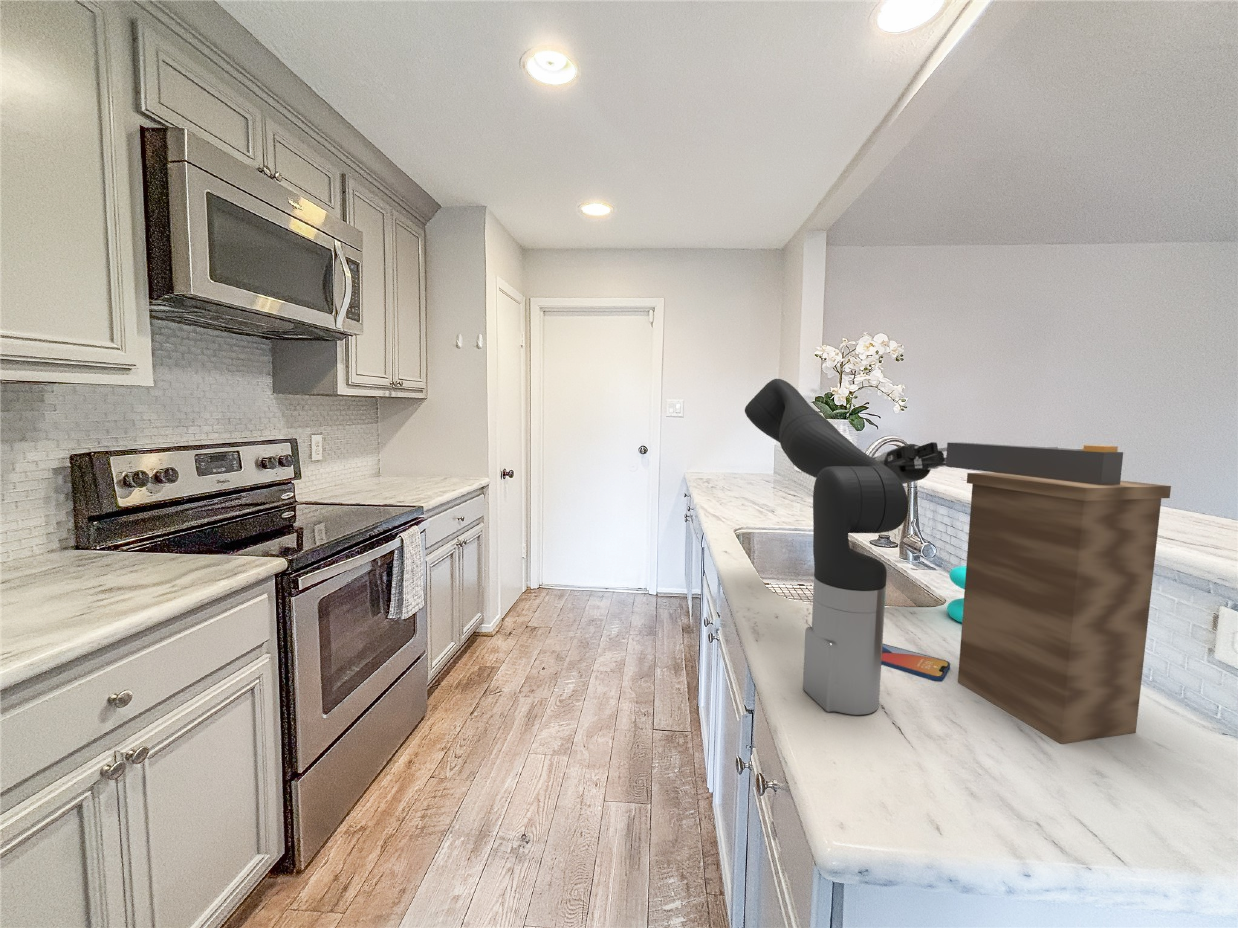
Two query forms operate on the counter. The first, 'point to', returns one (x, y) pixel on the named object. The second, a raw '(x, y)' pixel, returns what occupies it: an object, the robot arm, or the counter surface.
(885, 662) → the smartphone
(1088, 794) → the counter surface
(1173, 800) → the counter surface
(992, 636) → the wooden lidded box
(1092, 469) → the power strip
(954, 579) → the turquoise spool
